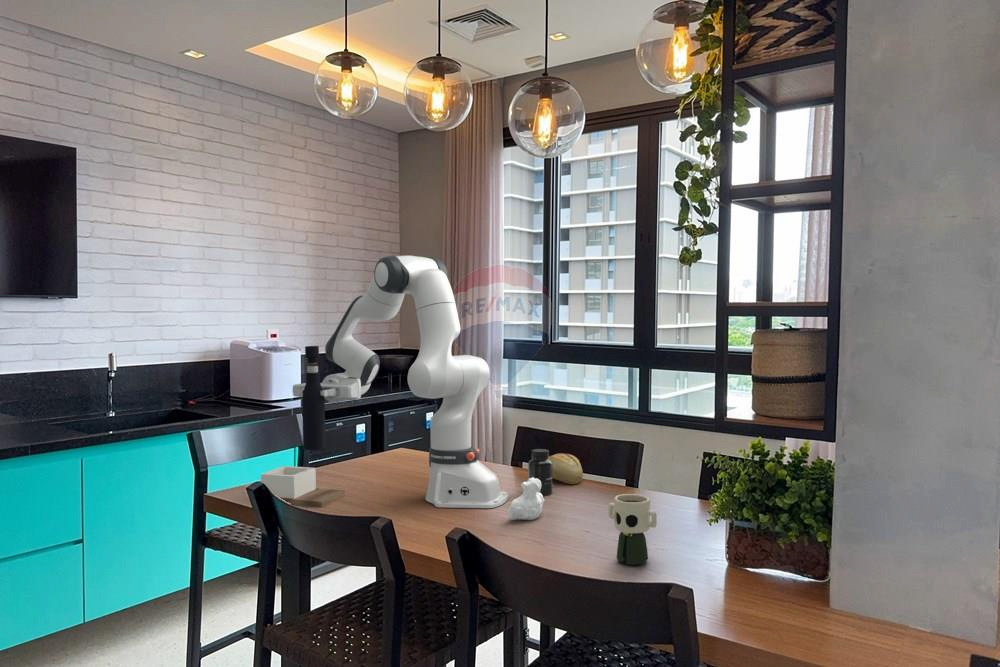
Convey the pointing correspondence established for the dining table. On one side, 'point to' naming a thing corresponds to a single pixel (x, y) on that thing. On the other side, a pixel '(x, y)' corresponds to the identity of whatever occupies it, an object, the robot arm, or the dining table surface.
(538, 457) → the supplement bottle
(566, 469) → the bread roll
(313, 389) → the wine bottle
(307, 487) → the bottle stand
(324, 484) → the dining table surface
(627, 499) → the character mug
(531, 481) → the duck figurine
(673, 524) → the dining table surface
